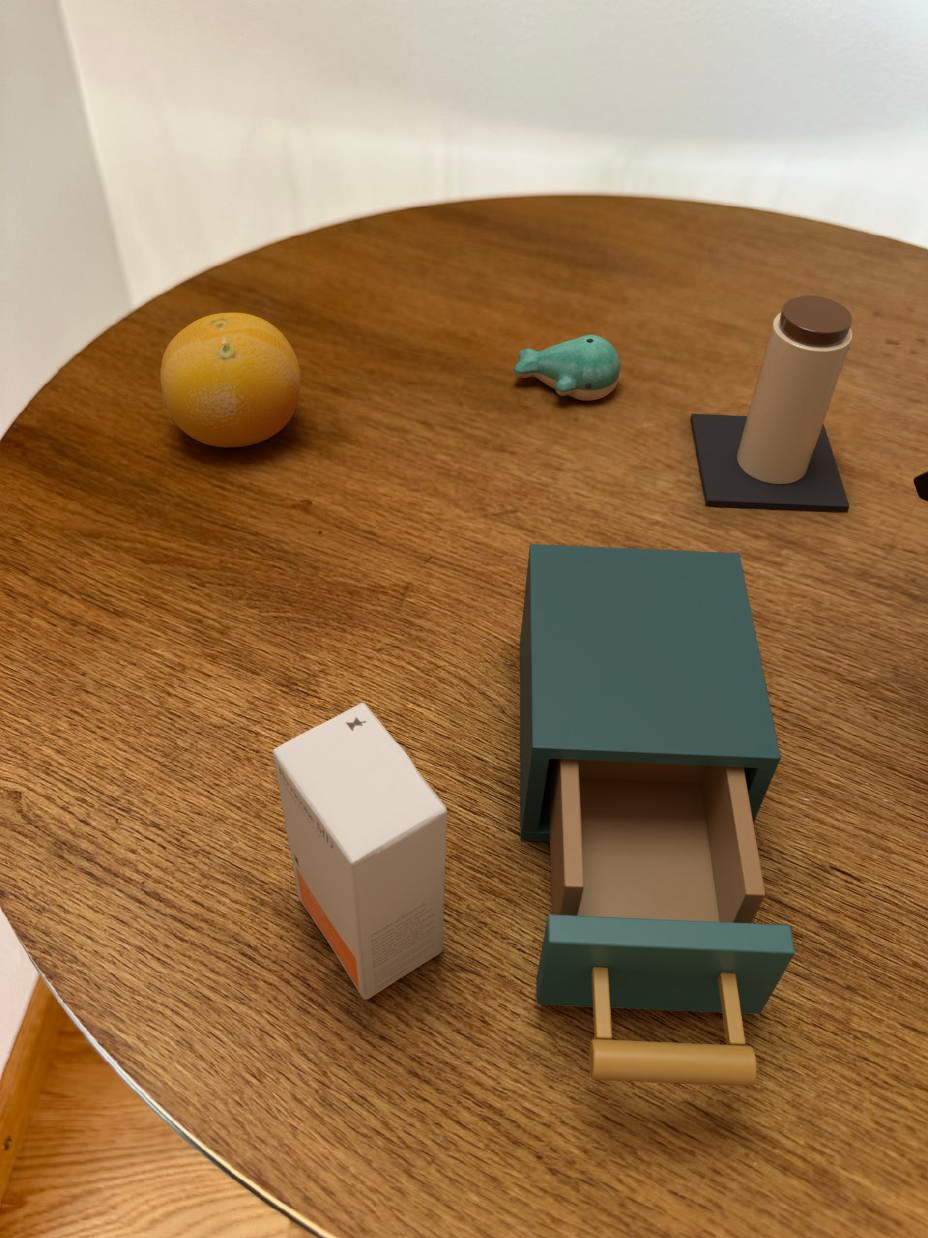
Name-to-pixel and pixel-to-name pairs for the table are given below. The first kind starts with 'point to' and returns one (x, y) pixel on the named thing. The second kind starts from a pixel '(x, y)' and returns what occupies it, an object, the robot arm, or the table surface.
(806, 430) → the spice jar
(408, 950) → the cosmetic box
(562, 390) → the whale figurine
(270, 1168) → the table surface
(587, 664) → the cabinet
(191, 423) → the fruit
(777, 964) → the drawer
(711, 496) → the mat
